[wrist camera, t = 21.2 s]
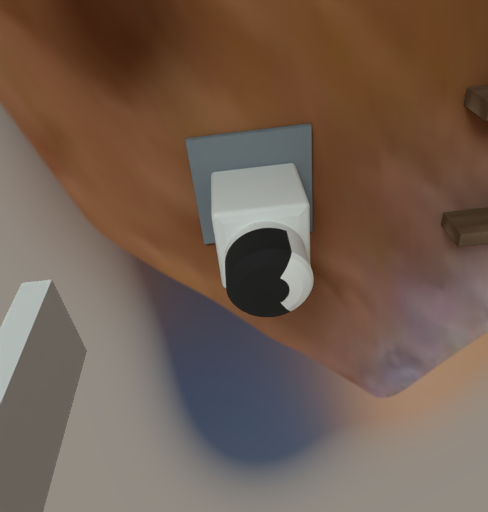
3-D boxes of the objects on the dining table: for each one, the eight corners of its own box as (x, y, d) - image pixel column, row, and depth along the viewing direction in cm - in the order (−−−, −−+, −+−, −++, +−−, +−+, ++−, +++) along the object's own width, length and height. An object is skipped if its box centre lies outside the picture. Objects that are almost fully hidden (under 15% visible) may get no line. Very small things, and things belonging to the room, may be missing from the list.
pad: (185, 138, 40) (185, 140, 40) (310, 123, 40) (311, 125, 40) (204, 240, 47) (204, 244, 46) (311, 228, 47) (312, 231, 46)
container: (220, 240, 46) (224, 334, 36) (210, 170, 42) (211, 255, 31) (297, 231, 46) (323, 323, 36) (294, 161, 42) (324, 242, 31)
